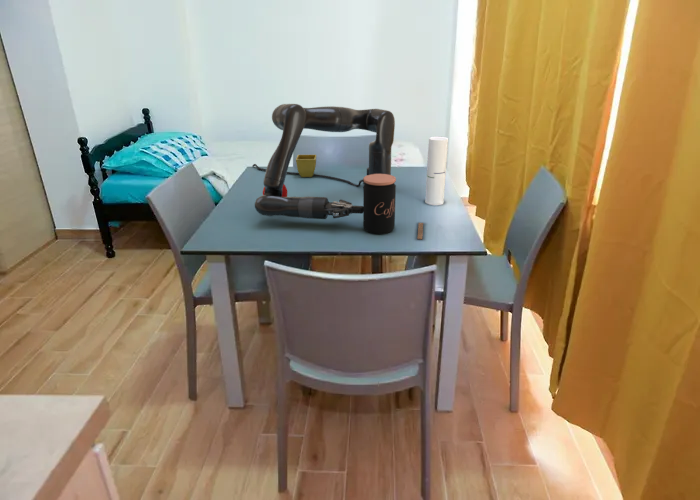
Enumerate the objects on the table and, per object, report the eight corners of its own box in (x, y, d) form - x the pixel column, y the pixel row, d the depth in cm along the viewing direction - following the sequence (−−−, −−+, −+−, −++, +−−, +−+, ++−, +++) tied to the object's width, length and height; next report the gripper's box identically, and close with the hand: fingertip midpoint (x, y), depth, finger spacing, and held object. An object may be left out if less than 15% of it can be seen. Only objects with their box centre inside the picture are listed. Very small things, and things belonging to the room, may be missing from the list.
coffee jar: (374, 237, 161) (374, 184, 153) (357, 227, 169) (357, 176, 162) (400, 230, 166) (402, 179, 158) (383, 221, 174) (384, 171, 166)
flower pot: (315, 178, 224) (315, 159, 220) (296, 178, 224) (295, 159, 220) (317, 173, 232) (316, 154, 228) (298, 173, 232) (297, 154, 228)
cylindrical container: (443, 205, 188) (448, 140, 178) (424, 204, 190) (428, 140, 179) (443, 199, 195) (448, 136, 184) (425, 198, 196) (429, 136, 185)
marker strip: (417, 239, 159) (417, 238, 159) (418, 223, 171) (418, 222, 171) (422, 239, 159) (422, 238, 159) (423, 223, 171) (423, 222, 171)
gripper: (308, 203, 160) (360, 205, 158) (317, 191, 172) (366, 193, 169) (309, 224, 163) (360, 227, 161) (318, 211, 175) (366, 213, 173)
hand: (363, 209), depth 165 cm, fingers closed
